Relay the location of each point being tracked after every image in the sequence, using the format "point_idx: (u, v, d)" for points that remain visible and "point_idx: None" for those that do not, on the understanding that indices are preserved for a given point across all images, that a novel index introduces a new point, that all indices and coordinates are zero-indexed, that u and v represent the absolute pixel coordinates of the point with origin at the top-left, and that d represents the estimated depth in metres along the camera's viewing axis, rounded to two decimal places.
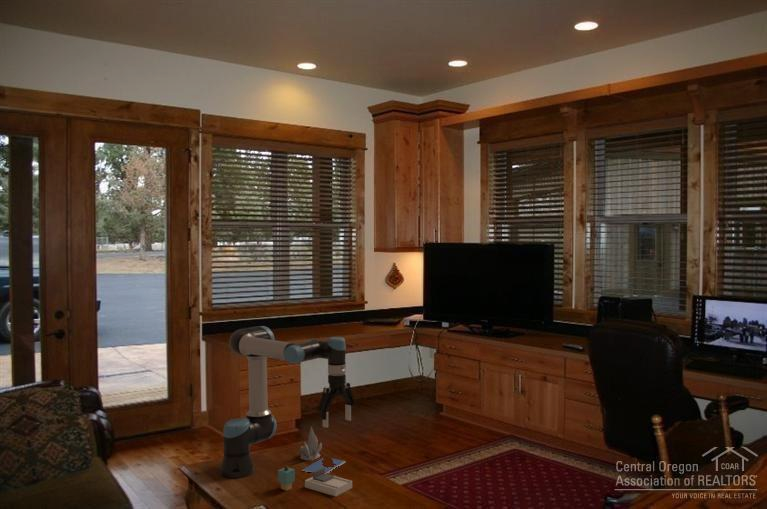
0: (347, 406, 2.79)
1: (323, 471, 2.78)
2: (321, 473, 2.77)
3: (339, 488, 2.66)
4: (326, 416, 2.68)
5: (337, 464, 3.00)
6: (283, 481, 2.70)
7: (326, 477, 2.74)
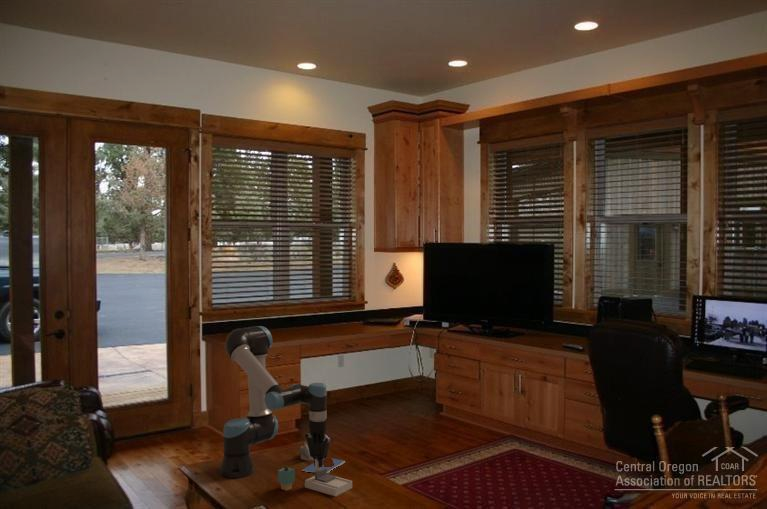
0: None
1: (325, 472, 2.77)
2: (323, 474, 2.76)
3: (339, 488, 2.66)
4: (315, 463, 2.76)
5: (337, 464, 3.00)
6: (283, 481, 2.70)
7: (328, 478, 2.73)
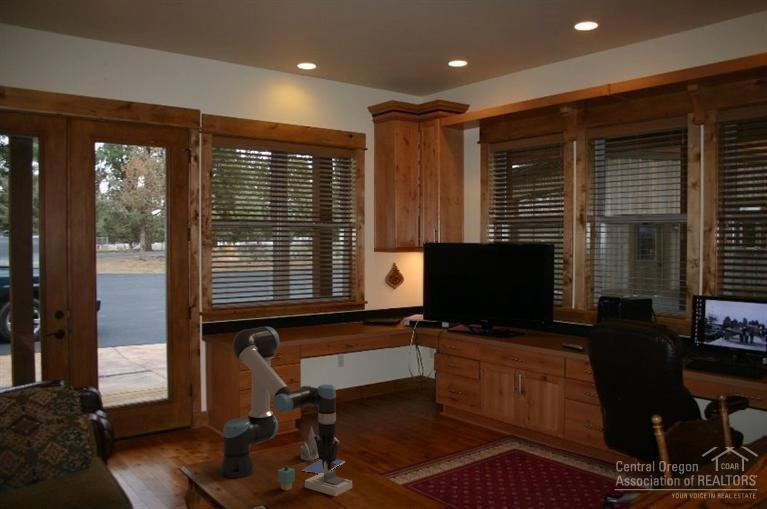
0: None
1: (334, 474, 2.74)
2: (332, 476, 2.73)
3: (339, 488, 2.66)
4: (324, 466, 2.73)
5: (337, 464, 3.00)
6: (283, 481, 2.70)
7: (337, 480, 2.70)
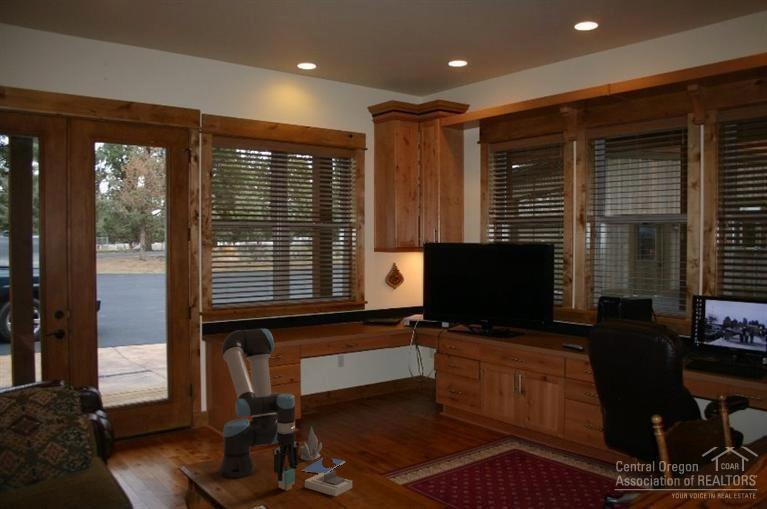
0: None
1: (334, 474, 2.74)
2: (332, 476, 2.73)
3: (339, 488, 2.66)
4: (282, 477, 2.69)
5: (337, 464, 3.00)
6: None
7: (337, 480, 2.70)
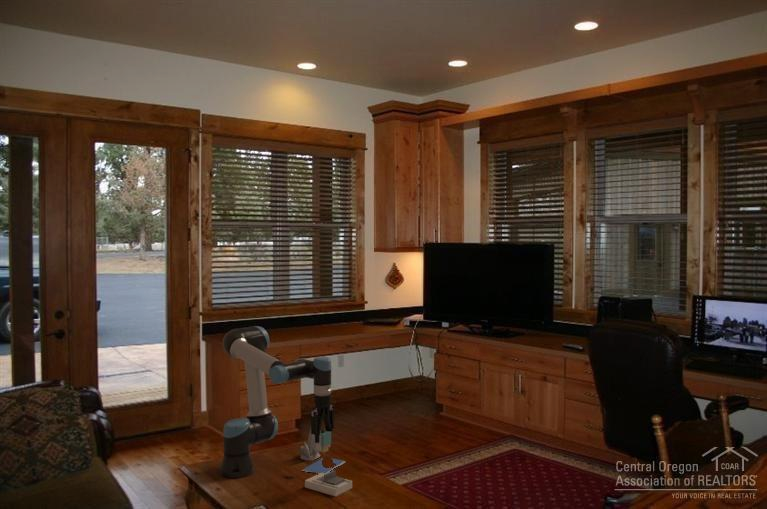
0: None
1: (334, 474, 2.74)
2: (332, 476, 2.73)
3: (339, 488, 2.66)
4: (319, 439, 2.71)
5: (337, 464, 3.00)
6: None
7: (337, 480, 2.70)
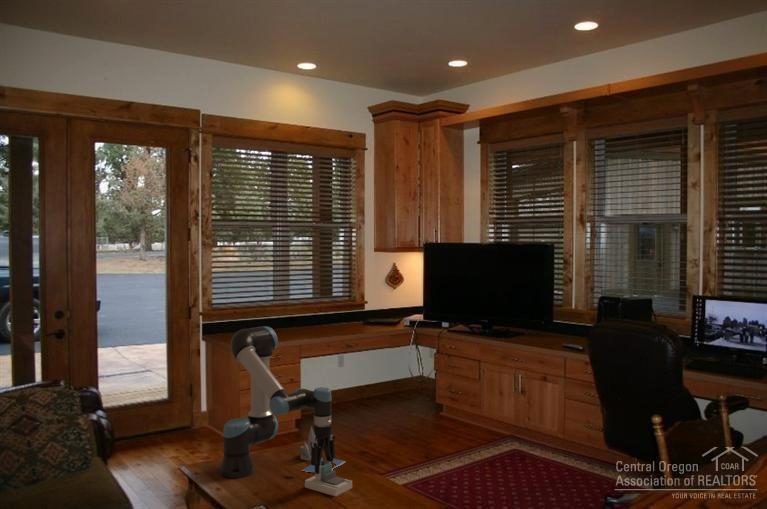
0: (327, 462, 2.77)
1: (334, 474, 2.74)
2: (332, 476, 2.73)
3: (339, 488, 2.66)
4: (319, 470, 2.72)
5: (337, 464, 3.00)
6: None
7: (337, 480, 2.70)
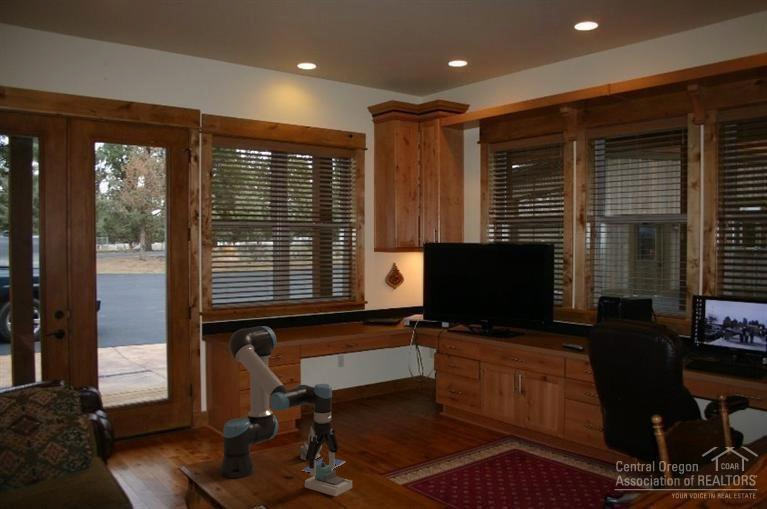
0: (331, 453, 2.80)
1: (334, 474, 2.74)
2: (332, 476, 2.73)
3: (339, 488, 2.66)
4: (314, 465, 2.69)
5: (337, 464, 3.00)
6: (320, 477, 2.73)
7: (337, 480, 2.70)
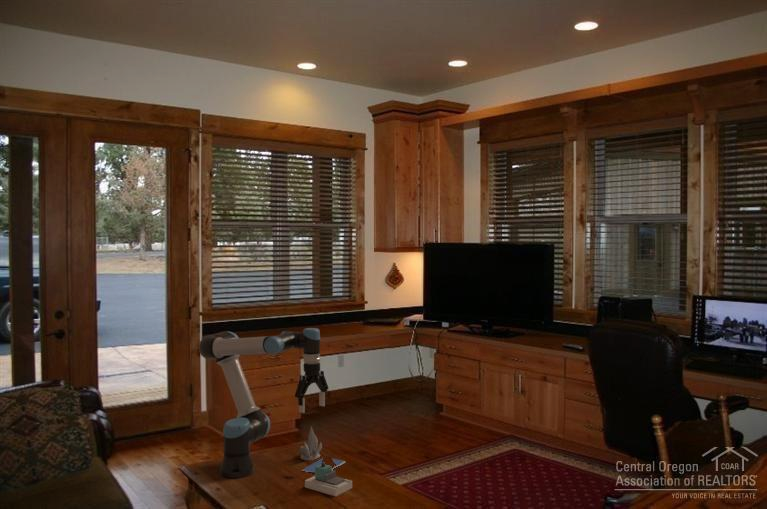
0: (321, 393, 2.96)
1: (334, 474, 2.74)
2: (332, 476, 2.73)
3: (339, 488, 2.66)
4: (302, 402, 2.85)
5: (337, 464, 3.00)
6: (320, 477, 2.73)
7: (337, 480, 2.70)
